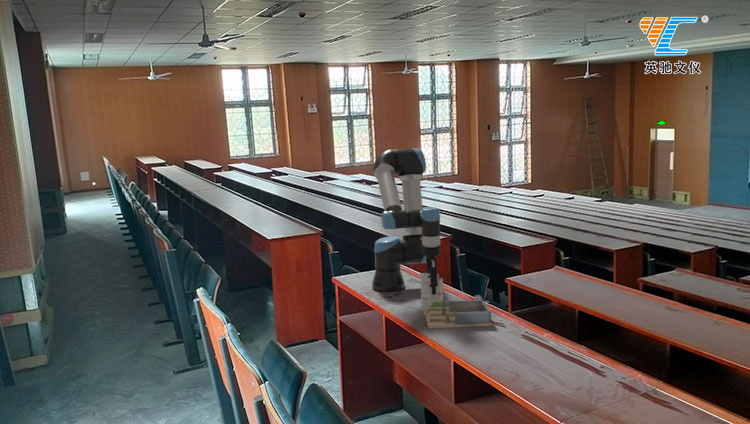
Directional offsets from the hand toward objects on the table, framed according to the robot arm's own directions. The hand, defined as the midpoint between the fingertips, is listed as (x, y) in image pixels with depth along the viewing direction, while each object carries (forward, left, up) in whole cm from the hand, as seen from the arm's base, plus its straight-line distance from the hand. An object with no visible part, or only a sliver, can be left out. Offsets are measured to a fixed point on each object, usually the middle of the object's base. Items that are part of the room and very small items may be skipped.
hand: (432, 297), depth 243 cm
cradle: (+15, +7, -4) cm, 17 cm away
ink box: (0, 0, -4) cm, 4 cm away
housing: (+15, +12, -2) cm, 19 cm away
